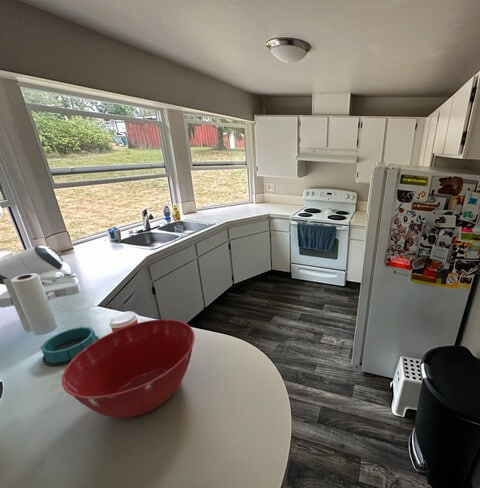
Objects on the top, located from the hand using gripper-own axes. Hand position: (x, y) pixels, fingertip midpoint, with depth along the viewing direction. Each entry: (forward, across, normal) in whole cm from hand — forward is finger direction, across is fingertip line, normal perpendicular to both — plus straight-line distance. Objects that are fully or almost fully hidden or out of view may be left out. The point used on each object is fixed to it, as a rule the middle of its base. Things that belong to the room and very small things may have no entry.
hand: (34, 303), depth 85 cm
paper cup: (+20, +25, +16) cm, 36 cm away
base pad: (+10, +8, +16) cm, 20 cm away
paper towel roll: (-1, 0, +12) cm, 12 cm away
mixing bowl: (+42, +30, +16) cm, 54 cm away
